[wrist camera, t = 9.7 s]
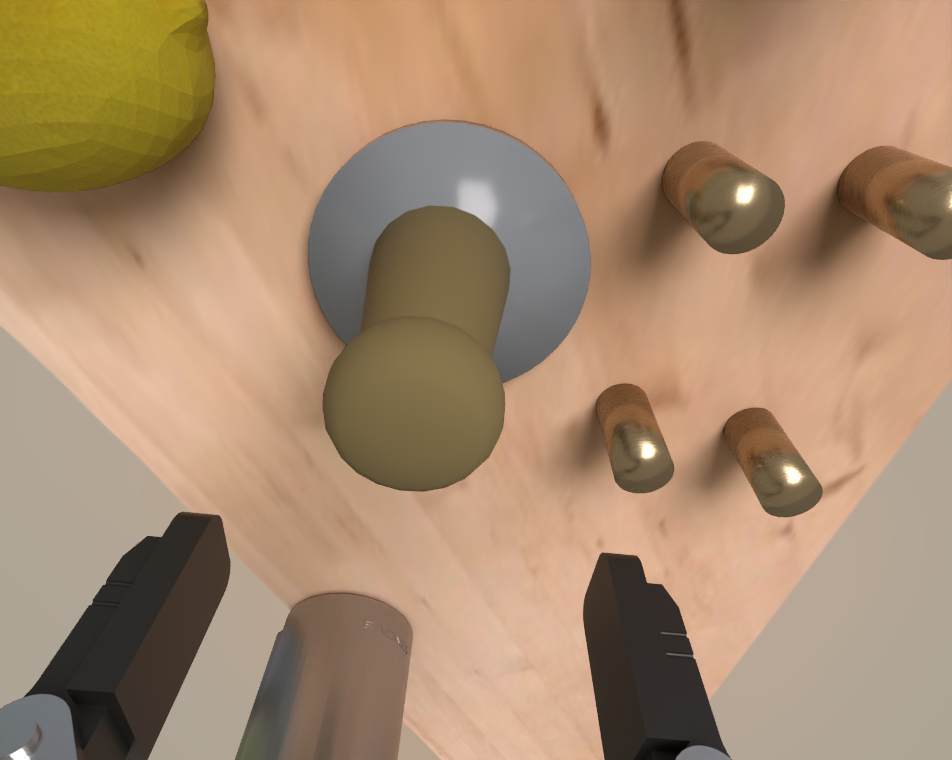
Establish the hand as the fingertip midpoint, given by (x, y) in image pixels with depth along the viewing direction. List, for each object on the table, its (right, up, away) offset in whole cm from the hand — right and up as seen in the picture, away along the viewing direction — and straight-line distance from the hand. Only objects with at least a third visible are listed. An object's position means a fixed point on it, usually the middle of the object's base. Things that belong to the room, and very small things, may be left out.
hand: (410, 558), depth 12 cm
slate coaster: (0, +9, +13) cm, 15 cm away
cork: (0, +8, +12) cm, 15 cm away
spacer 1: (+9, +3, +17) cm, 19 cm away
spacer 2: (+10, +12, +10) cm, 19 cm away
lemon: (-12, +16, +8) cm, 22 cm away
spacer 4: (+17, +12, +10) cm, 23 cm away
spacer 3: (+16, +1, +17) cm, 24 cm away
